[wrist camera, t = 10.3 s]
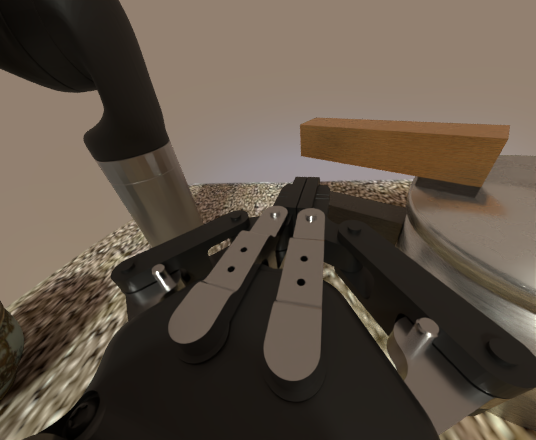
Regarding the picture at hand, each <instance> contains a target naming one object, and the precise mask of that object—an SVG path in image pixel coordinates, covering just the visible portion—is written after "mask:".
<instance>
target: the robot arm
mask: <svg viewBox="0 0 536 440" xmlns="http://www.w3.org/2000/svg"><path fill="white" fill-rule="evenodd" d="M0 69H2V70H5V71H7V72H9V73H12V74H14V75H17V76H19V77H21V78H24V79H26V80H28V81H31V82H33V83H36V84H39V85H41V86H44V87H47V88H50V89H53V90H57V91H62V92H74V93H80V92H87V91H94V90H98V93H99V95H100V97H101V100H102V103H103V106H104V113H103V116H102V118H101V120H100V122H99V123H98V124H97V125H96V126H94V127H93V128H92V129H90V130H89V131H87V132H86V133H85V135H84V143H85V145H86V147H87V148H88V150H89V151H90V153H91V155H92V156H93V157H94V159H95V160H96V162H97V163H98V165H99V166H100V168H101V170H102V171H103V173H104V174H105V176H106V177H107V179H108V180H109V182H110V183H111V185H112V186H113V188H114V189H115V191H116V193H117V194H118V195H119V197H120V199H121V200H122V202H123V203H124V205H125V206H126V208H127V210H128V211H129V213H130V214H131V216H132V217H133V219H134V220H135V222H136V223H137V225H138V227H139V228H140V230H141V231H142V233H143V234H144V236H145V237H146V239H147V241H148V242H149V244H150V245H151V247H152V248H151V249H149V250H147V251H144V252H142V253H140V254H138V255H136V256H133V257H131V258H129V259H127V260H125V261H123V262H121V263H120V264H119V265H118V266H116V267H115V269H114V270H113V271H112V273H111V279H112V280H113V281H114V282H115V283H116V284H117V286H118V287H119V288H120V289H121V291H122V292H123V293H124V294H125V296H126V304H127V314H128V322H127V323H126V324H125V325H124V326H122V327H121V328H120V330H119V331H118V332H117V333H116V334H115V335H114V337H113V338H112V340H111V341H110V343H109V344H108V346H107V348H106V350H105V353H104V355H103V358H102V360H101V363H100V365H99V367H98V369H97V372H96V374H95V375H94V377H93V379H92V381H91V383H90V384H89V386H88V388H87V389H86V391H85V393H84V394H83V396H82V397H81V398H80V399H79V401H78V402H77V403H76V404H75V405H74V407H73V408H72V409H71V410H70V411H69V412H68V413H66V414H65V415H64V416H63V417H62V418H60V419H59V420H58V421H56V422H55V423H54V424H52V425H51V426H49V427H48V428H46V429H44V430H43V431H41V432H39V433H38V434H36V435H32V436H30V437H27V438H25V439H23V440H440V438H439V435H440V434H441V433H443V432H444V431H446V430H447V429H449V428H450V427H452V426H453V425H455V424H456V423H458V422H459V421H461V420H462V419H464V418H465V417H466V416H475V415H478V414H480V413H483V412H485V411H487V410H489V409H491V408H493V407H495V406H498V405H500V404H502V403H504V402H506V401H508V400H511V399H513V398H515V397H517V396H519V395H521V394H523V393H526V392H528V391H530V390H532V389H534V388H536V357H535V355H534V354H533V353H532V352H531V351H530V350H529V349H528V348H527V347H526V346H525V345H524V344H522V343H521V342H520V341H519V340H517V339H516V338H515V337H513V336H512V335H511V334H509V333H508V332H507V331H506V330H504V329H503V328H502V327H500V326H499V325H498V324H496V323H495V322H494V321H492V320H491V319H490V318H488V317H487V316H486V315H485V314H483V313H482V312H481V311H479V310H478V309H477V308H475V307H474V306H473V305H471V304H470V303H469V302H468V301H466V300H465V299H464V298H462V297H461V296H460V295H458V294H457V293H456V292H454V291H453V290H452V289H451V288H449V287H448V286H447V285H445V284H444V283H443V282H441V281H440V280H439V279H437V278H436V277H435V276H433V275H432V274H431V273H430V272H428V271H427V270H426V269H424V268H423V267H422V266H420V265H419V264H418V263H416V262H415V261H414V260H413V259H411V258H410V257H409V256H407V255H406V254H405V253H403V252H402V251H401V250H399V249H398V248H397V247H396V246H394V245H393V244H392V243H390V242H389V241H388V240H386V239H385V238H384V237H382V236H381V235H380V234H379V233H377V232H376V231H375V230H373V229H372V228H371V227H369V226H368V225H367V224H365V223H363V222H361V221H357V220H347V221H344V222H342V223H341V224H340V225H339V224H336V223H334V222H332V221H330V220H329V219H328V213H329V201H330V189H329V187H328V186H327V185H320V178H319V177H308V178H307V177H296V178H295V180H294V182H293V184H287V185H286V186H284V187H283V188H282V190H281V191H280V193H279V195H278V197H277V199H276V201H275V203H274V205H273V206H272V207H269V208H267V209H265V210H264V211H263V213H262V214H261V216H258V217H251V218H249V216H248V213H247V212H245V211H242V210H237V211H233V212H230V213H228V214H226V215H224V216H221V217H219V218H217V219H215V220H213V221H210V222H208V223H206V224H203V222H202V219H201V217H200V214H199V212H198V209H197V207H196V204H195V202H194V199H193V197H192V194H191V192H190V189H189V187H188V184H187V182H186V179H185V177H184V174H183V172H182V169H181V167H180V164H179V162H178V160H177V157H176V155H175V152H174V150H173V147H172V145H171V142H170V140H169V137H168V135H167V132H166V129H165V124H164V119H163V115H162V111H161V108H160V106H159V102H158V99H157V97H156V94H155V91H154V88H153V85H152V83H151V80H150V77H149V74H148V71H147V68H146V65H145V62H144V59H143V56H142V52H141V50H140V47H139V44H138V41H137V39H136V36H135V33H134V31H133V29H132V26H131V24H130V22H129V19H128V17H127V15H126V13H125V11H124V9H123V8H122V6H121V4H120V2H119V0H0ZM228 238H229V239H230V242H231V245H230V246H228V247H226V248H224V249H223V250H221V251H219V252H217V253H215V254H213V255H211V256H208V250H209V249H210V248H211V247H213V246H215V245H217V244H219V243H221V242H223V241H225V240H226V239H228ZM323 262H325V263H327V264H330V265H332V266H334V269H335V272H336V273H337V274H338V276H339V277H340V278H341V279H342V280H343V282H344V283H345V284H346V285H347V286H348V288H349V289H350V290H351V291H352V293H353V294H354V295H355V296H356V297H357V299H358V300H359V301H360V302H361V303H362V305H363V306H364V307H365V308H366V310H367V311H368V312H369V313H370V314H371V316H372V317H373V318H374V319H375V320H376V322H377V323H378V324H379V325H380V327H381V328H382V329H383V330H384V331H385V333H386V334H387V335H388V336H389V337H388V339H387V351H388V354H389V356H390V358H391V359H392V361H393V363H394V364H395V367H396V369H397V370H396V369H395V368H394V366H393V365H392V363H391V362H390V361H389V359H388V358H387V356H386V355H385V354H384V352H383V351H382V349H381V348H380V347H379V345H378V344H377V342H376V341H375V340H374V338H373V337H372V335H371V334H370V333H369V331H368V330H367V328H366V327H365V326H364V324H363V323H362V321H361V320H360V319H359V317H358V316H357V314H356V313H355V312H354V310H353V309H352V307H351V306H350V305H349V303H348V302H347V300H346V299H345V298H344V296H343V295H342V294H341V293H340V292H339V291H338V290H337V289H336V288H335V287H333V286H332V285H331V284H329V283H328V282H326V281H324V280H323Z"/></svg>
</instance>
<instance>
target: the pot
mask: <svg viewBox="0 0 536 440" xmlns="http://www.w3.org/2000/svg"><path fill="white" fill-rule="evenodd" d="M328 219H329V220H330V221H332V222H334V223H336V224H339V225H340V224H341V223H342V222H344V221H347V220H357V221H361V222H363V223H365V224H367V225H368V226H369V227H371V228H372V229H373V230H375V231H376V232H377V233H379V234H380V235H381V236H382V237H384V238H385V239H386V240H388V241H389V242H390V243H392V244H393V245H394V246H395V245H396V247H397V248H398V249H399V250H401V251H402V252H403V253H405V254H406V255H407V256H409V257H410V258H411V259H413V260H414V261H415V262H416V263H418V264H419V265H420V266H422V267H423V268H424V269H426V270H427V271H428V272H430V273H431V274H432V275H433V276H435V277H436V278H437V279H439V280H440V281H441V282H443V283H444V284H445V285H447V286H448V287H449V288H451V289H452V290H453V291H454V292H456V293H457V294H458V295H460V296H461V297H462V298H464V299H465V300H466V301H468V302H469V303H470V304H471V305H473V306H474V307H475V308H477V309H478V310H479V311H481V312H482V313H483V314H485V315H486V316H487V317H488V318H490V319H491V320H492V321H494V322H495V323H496V324H498V325H499V326H500V327H502V328H503V329H504V330H506V331H507V332H508V333H509V334H511V335H512V336H513V337H515V338H516V339H517V340H519V341H520V342H521V343H522V344H524V345H525V346H526V347H527V348H528V349H529V350H530V351H531V352H532V353H533V354H534V355H535V357H536V314H534V313H532V312H530V311H528V310H526V309H524V308H522V307H520V306H518V305H516V304H514V303H512V302H510V301H508V300H506V299H505V298H503V297H501V296H499V295H498V294H496V293H494V292H492V291H491V290H489V289H487V288H485V287H484V286H482V285H480V284H478V283H477V282H475V281H474V280H472V279H471V278H469V277H468V276H466V275H465V274H463V273H462V272H460V271H459V270H457V269H456V268H455V267H453V266H452V265H451V264H449V263H448V262H447V261H446V260H444V259H443V258H442V257H440V256H439V255H438V254H437V253H436V252H435V251H434V250H433V249H431V248H430V247H429V246H428V245H427V244H426V243H425V242H424V241H423V239H422V238H421V237H420V236H419V235H418V234H417V232H416V231H415V229H414V228H413V226H412V225H411V223H410V221H409V219H408V216H407V213H406V208H404V207H400V206H395V205H391V204H386V203H382V202H377V201H373V200H368V199H364V198H359V197H355V196H351V195H346V194H342V193H337V192H333V191H330V201H329V213H328ZM487 411H488V412H490V413H492V414H493V415H495V416H497V417H500V418H502V419H504V420H507V421H509V422H511V423H514V424H516V425H518V426H522V427H525V428H528V429H531V430H534V431H536V388H534V389H532V390H530V391H528V392H526V393H523V394H521V395H519V396H517V397H515V398H513V399H511V400H508V401H506V402H504V403H502V404H500V405H498V406H495V407H493V408H491V409H489V410H487Z"/></svg>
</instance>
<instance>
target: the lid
mask: <svg viewBox="0 0 536 440" xmlns="http://www.w3.org/2000/svg"><path fill="white" fill-rule="evenodd" d="M509 129H510V126H509V125H485V124H460V123H435V122H411V121H408V122H407V121H386V120H384V121H383V120H361V119H337V118H314V119H312V120H310V121H307V122H305V123H303V124H301V125H300V136H301V156H305V157H311V158H316V159H321V160H327V161H333V162H339V163H344V164H350V165H355V166H361V167H367V168H373V169H378V170H385V171H390V172H395V173H401V174H407V175H413V176H416V177H415V178H414V180H413V182H412V184H411V187H410V190H409V193H408V196H407V199H406V205H405V206H406V213H407V216H408V219H409V221H410V223H411V225H412V226H413V228H414V229H415V231H416V232H417V234H418V235H419V236H420V237H421V238H422V239H423V241H424V242H425V243H426V244H427V245H428V246H429V247H430V248H431V249H433V250H434V251H435V252H436V253H437V254H438V255H439V256H440V257H442V258H443V259H444V260H446V261H447V262H448V263H449V264H451V265H452V266H453V267H455V268H456V269H457V270H459V271H460V272H462V273H463V274H465V275H466V276H468V277H469V278H471V279H472V280H474V281H475V282H477V283H478V284H480V285H482V286H484V287H485V288H487V289H489V290H491V291H492V292H494V293H496V294H498V295H499V296H501V297H503V298H505V299H506V300H508V301H510V302H512V303H514V304H516V305H518V306H520V307H522V308H524V309H526V310H528V311H530V312H532V313H534V314H536V156H519V155H499V154H500V153H501V151H502V149H503V147H504V146H505V144H506V142H507V140H508V137H509Z"/></svg>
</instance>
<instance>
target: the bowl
mask: <svg viewBox="0 0 536 440" xmlns="http://www.w3.org/2000/svg"><path fill="white" fill-rule="evenodd" d="M23 347H24V336H23V332H22V329H21V327H20V325H19V323H18V322H17V320H16V319H15V318H14V317H13V316H12V315H11V314H10V313H9V312H8V311H7V310H6V309H5V308H4V307H3V305H2V303H1V301H0V400H1V399H2V398H3V397H4V396H5V394H6V393H7V392H8V390H9V389H10V387H11V386H12V384H13V382H14V379H15V377H16V372H17V370H16V369H17V367H18V365H19V362H20V360H21V356H22V353H23Z"/></svg>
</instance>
